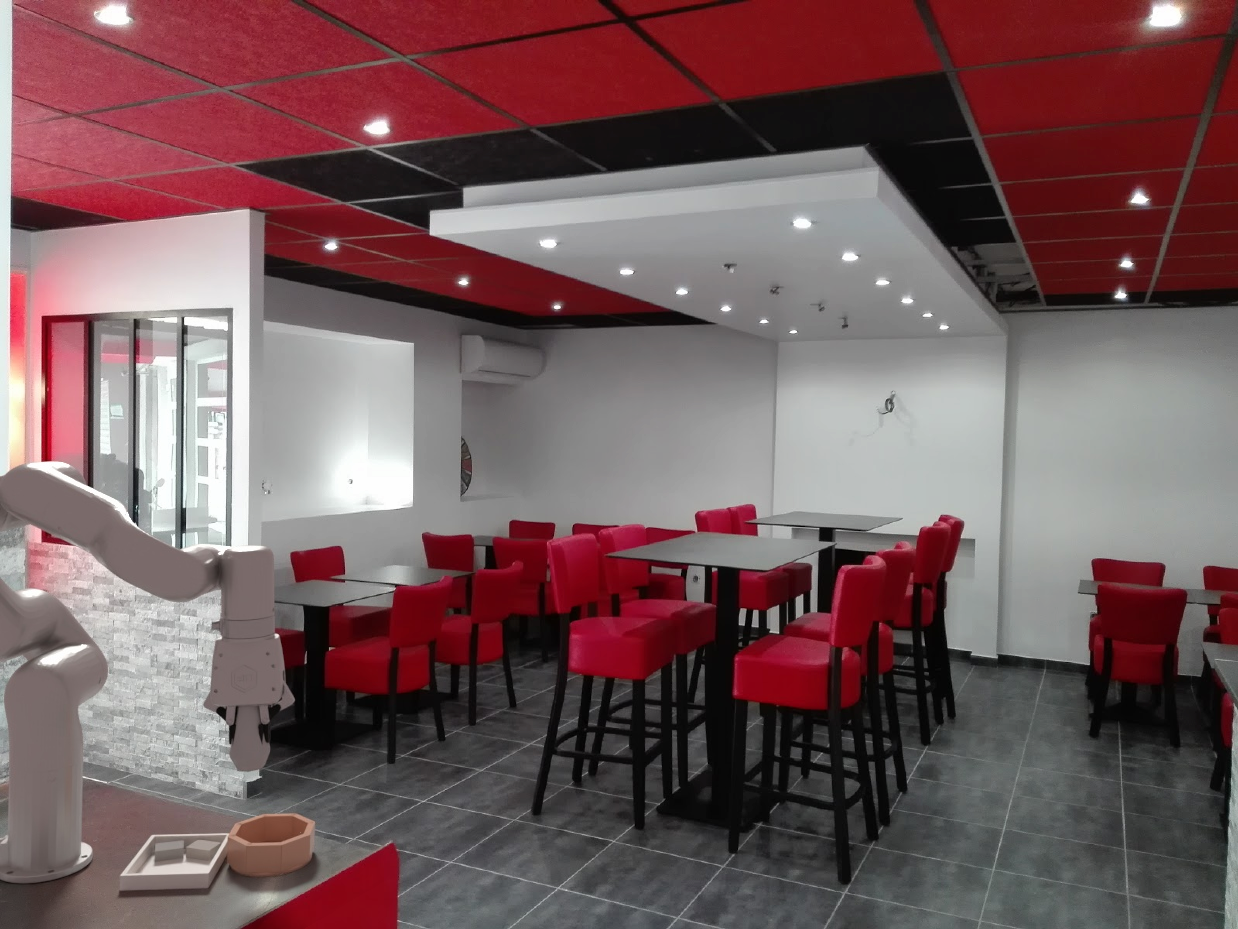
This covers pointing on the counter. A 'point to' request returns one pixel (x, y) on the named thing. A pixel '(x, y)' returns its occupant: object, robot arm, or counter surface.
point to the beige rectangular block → (202, 850)
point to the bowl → (270, 844)
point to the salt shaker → (248, 741)
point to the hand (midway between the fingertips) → (250, 747)
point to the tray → (173, 865)
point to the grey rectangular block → (169, 850)
